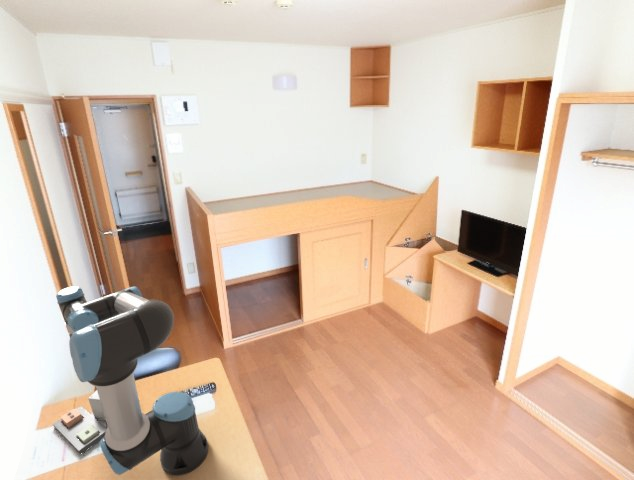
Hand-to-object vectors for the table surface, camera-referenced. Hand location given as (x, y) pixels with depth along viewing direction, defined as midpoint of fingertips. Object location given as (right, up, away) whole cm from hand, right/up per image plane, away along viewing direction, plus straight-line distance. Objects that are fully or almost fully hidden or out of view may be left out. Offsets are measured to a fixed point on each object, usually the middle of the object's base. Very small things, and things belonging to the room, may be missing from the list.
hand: (98, 381), depth 138 cm
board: (-5, -17, -2) cm, 18 cm away
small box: (+1, -14, +5) cm, 15 cm away
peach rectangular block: (-10, -16, +1) cm, 19 cm away
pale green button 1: (0, -19, -5) cm, 20 cm away
